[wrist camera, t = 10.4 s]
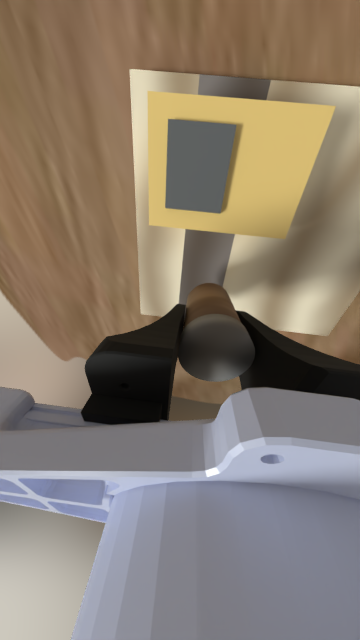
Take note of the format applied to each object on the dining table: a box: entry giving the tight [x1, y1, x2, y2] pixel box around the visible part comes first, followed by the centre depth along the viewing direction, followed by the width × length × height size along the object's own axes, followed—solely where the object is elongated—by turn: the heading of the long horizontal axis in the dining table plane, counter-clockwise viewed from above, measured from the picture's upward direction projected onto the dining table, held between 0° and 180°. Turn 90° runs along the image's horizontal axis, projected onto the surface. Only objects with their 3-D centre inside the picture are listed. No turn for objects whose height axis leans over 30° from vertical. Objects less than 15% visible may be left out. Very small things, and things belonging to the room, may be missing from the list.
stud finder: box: [147, 91, 336, 239], centre depth 10 cm, size 8×5×4 cm, turn 85°
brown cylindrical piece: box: [178, 283, 255, 381], centre depth 10 cm, size 4×4×6 cm
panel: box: [130, 69, 360, 336], centre depth 13 cm, size 20×16×1 cm
